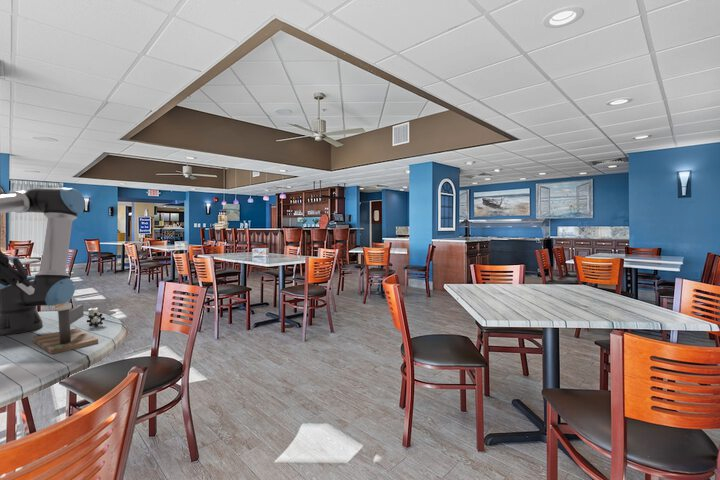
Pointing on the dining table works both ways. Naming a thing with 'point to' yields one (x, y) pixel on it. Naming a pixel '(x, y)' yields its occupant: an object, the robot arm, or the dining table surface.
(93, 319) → the valve
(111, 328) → the dining table surface
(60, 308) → the dark piece
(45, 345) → the board
